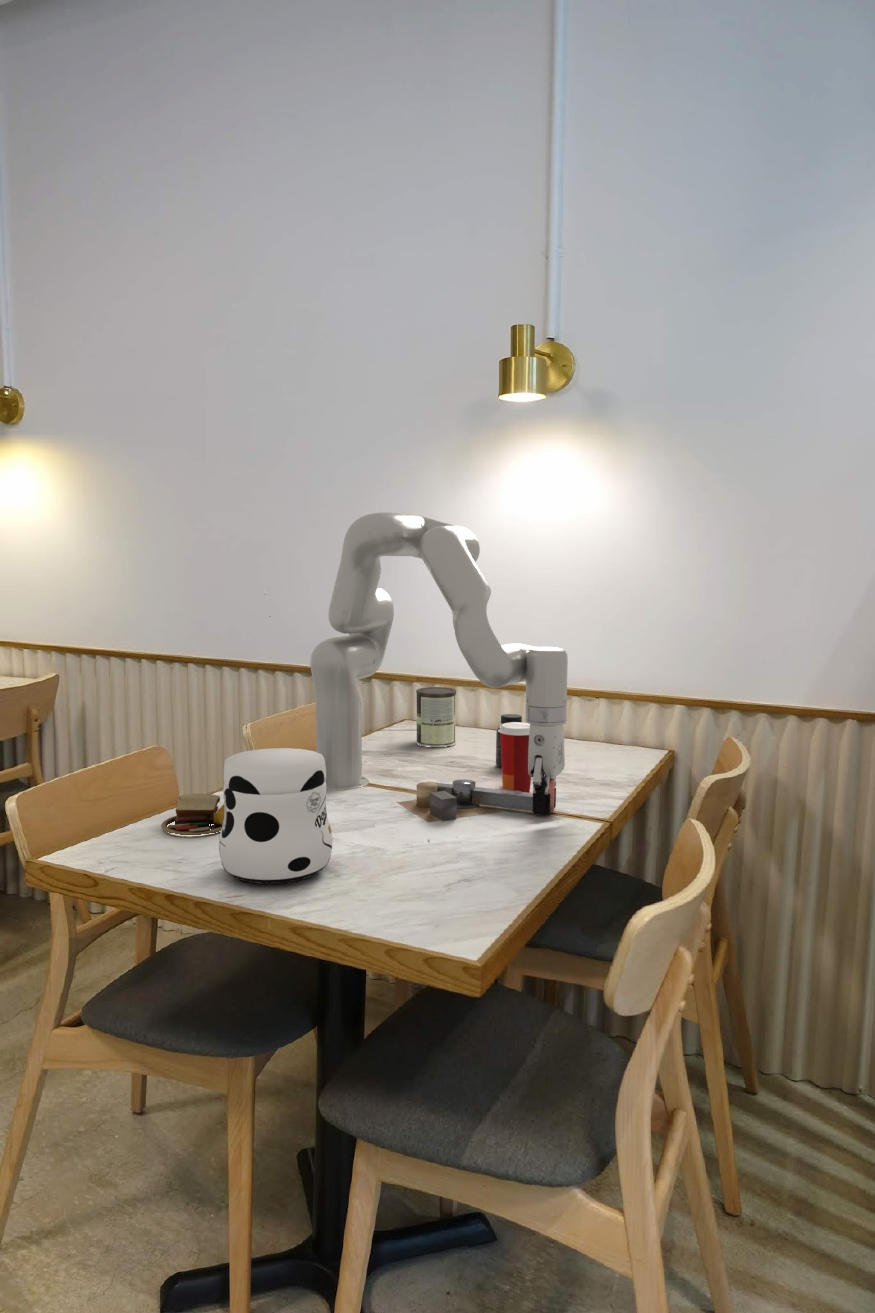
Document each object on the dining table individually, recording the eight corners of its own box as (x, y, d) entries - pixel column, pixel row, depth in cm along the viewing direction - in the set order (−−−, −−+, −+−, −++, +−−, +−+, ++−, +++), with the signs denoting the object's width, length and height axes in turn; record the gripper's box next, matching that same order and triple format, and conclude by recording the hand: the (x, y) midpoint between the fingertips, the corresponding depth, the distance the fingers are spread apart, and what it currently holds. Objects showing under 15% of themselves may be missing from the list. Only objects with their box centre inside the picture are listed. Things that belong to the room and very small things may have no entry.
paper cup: (537, 788, 189) (538, 722, 187) (531, 797, 182) (532, 729, 180) (501, 785, 191) (502, 720, 190) (493, 794, 184) (494, 727, 182)
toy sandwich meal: (151, 839, 156) (150, 812, 155) (175, 816, 169) (175, 791, 168) (223, 840, 155) (222, 813, 155) (241, 817, 169) (241, 792, 168)
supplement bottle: (526, 770, 204) (527, 718, 203) (496, 769, 204) (497, 718, 203) (524, 763, 211) (524, 712, 210) (495, 762, 211) (495, 712, 210)
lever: (421, 798, 174) (421, 770, 173) (430, 793, 178) (430, 765, 177) (550, 814, 164) (551, 784, 164) (556, 807, 168) (557, 778, 168)
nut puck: (424, 809, 170) (425, 788, 169) (412, 804, 173) (412, 784, 172) (441, 805, 172) (441, 785, 172) (428, 801, 175) (428, 781, 175)
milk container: (355, 870, 140) (354, 758, 138) (266, 902, 128) (263, 779, 125) (285, 846, 152) (284, 741, 150) (197, 873, 139) (194, 759, 137)
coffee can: (407, 743, 232) (408, 689, 230) (438, 737, 239) (438, 685, 237) (433, 750, 224) (433, 694, 223) (464, 744, 231) (464, 690, 229)
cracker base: (429, 827, 162) (429, 801, 161) (397, 807, 175) (397, 782, 174) (505, 816, 169) (506, 790, 168) (469, 797, 182) (469, 773, 181)
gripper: (555, 723, 156) (553, 826, 158) (575, 708, 171) (573, 801, 174) (514, 720, 158) (512, 821, 161) (537, 705, 174) (535, 797, 176)
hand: (544, 810), depth 167 cm, fingers closed on lever, 3 cm apart
